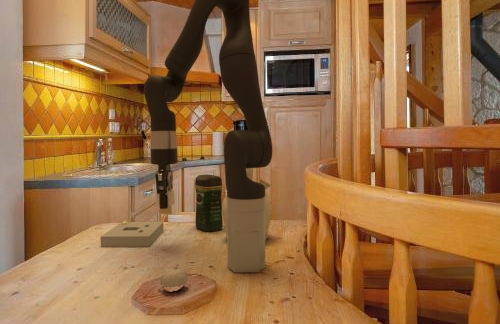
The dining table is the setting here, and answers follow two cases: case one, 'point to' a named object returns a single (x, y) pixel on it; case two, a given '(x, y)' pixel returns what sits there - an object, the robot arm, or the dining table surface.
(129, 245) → the socket
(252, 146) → the robot arm
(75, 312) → the dining table surface
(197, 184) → the coffee jar
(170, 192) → the plug
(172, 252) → the dining table surface
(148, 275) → the dining table surface
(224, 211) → the jug
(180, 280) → the garlic
